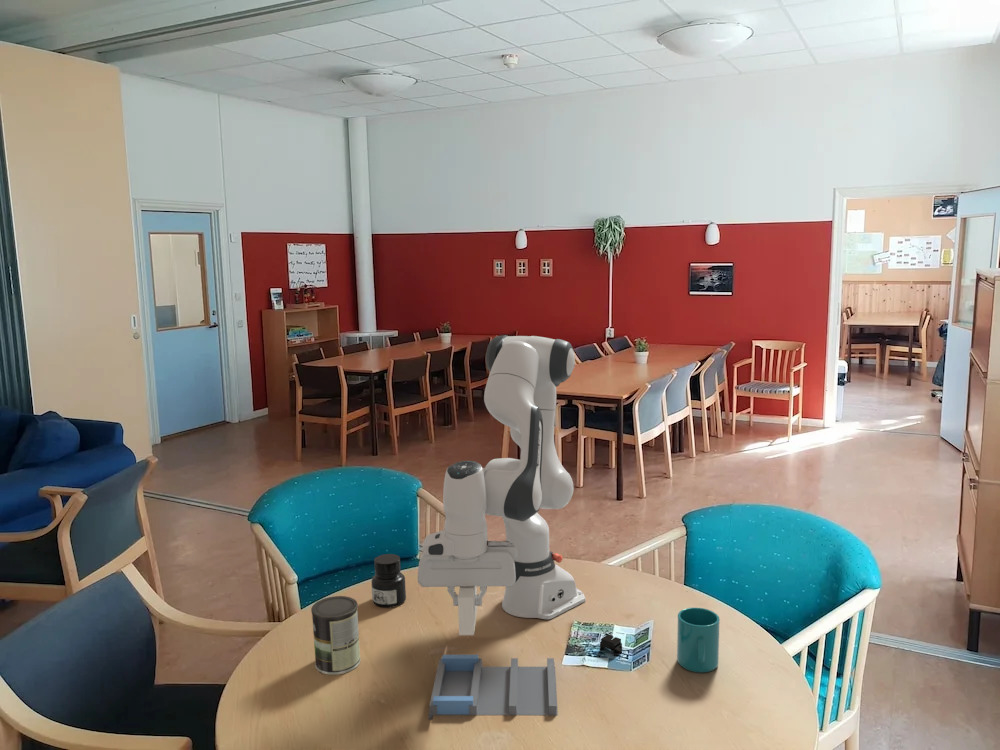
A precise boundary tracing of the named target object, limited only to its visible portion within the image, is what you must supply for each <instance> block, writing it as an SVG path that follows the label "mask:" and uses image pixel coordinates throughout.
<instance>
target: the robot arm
mask: <svg viewBox="0 0 1000 750" xmlns="http://www.w3.org/2000/svg"><path fill="white" fill-rule="evenodd" d="M574 350H575V349H574V347H573V346H572V344H571V343H570V342H569V341H566V340H564V339H560V338H556V339H553V338H550V337H544V336H537V335H531V336H530V335H529V336H528V335H516V336H515V335H513V336H512V335H511V336H510V335H509V336H508V335H507V334H505V335H498V336H495V337H493V338H492V339H491V340H490V341H489V342H488V344H487V348H486V352H485V365H486V369H487V370H488V372H489V375H488V378H487V381H486V384H485V388H484V395H483V402H484V405H485V407H486V409H487V411H488V412H489V414H490V415H491V416H492V418H494V419H495V420H497V421H498V422H500V423H501V424H503V425H504V426H507V427H509V428H510V429H509V430H510V433H509V434H510V437H511V439H512V441H513V442H514V443H515V444H516V445H517V446H519V448H520V456H519V457H520V459H517V458H512V457H502V458H494V459H491V460H490V461H488V463H486V465H485V467H483V466H482V464H480V463H479V462H477V461H473V460H461V461H457V462H455V463H452V464H451V465H449V466H448V467H447V468H446V471H445V474H444V478H443V479H444V480H443V490H442V491H443V493H442V495H443V496H442V497H443V498H442V500H443V501H442V502H443V503H442V505H443V512H444V515H445V522H444V526H443V529H442V530H439V531H436V532H434V533H430V534H428V535H426V536H425V538H424V540H423V542H422V553H421V555H420V559H419V562H418V566H417V567H418V568H417V583H418V585H420V587H422V588H436V587H437V588H438V587H439V588H442V587H445V588H447V592H448V594H449V595H450V597H451V598H452V600H453V602H452V604H453V605H452V606H454V607H458V595H459V594H457V592H456V591H455V588H457V587H459V588H460V587H470V586H477V587H479V591H480V592H479V593H478V594H477V595H475V606H477V607H478V606H479V607H480V606H482V605H483V597H484V596H485V594H486V593H487V590H488V587H505V589H504V593H503V594H504V595H503V599H502V602H501V608H502V609H503V611H505V613H506V614H509V615H511V616H514V617H519V618H526V619H527V618H529V619H532V618H533V619H534V618H535V619H536V618H537V619H541V620H552V619H553V618H555V617H558V616H559V615H561V614H563V613H565V612H567V611H569V610H571V609H572V608H575V607H577V606H579V605H581V604H583V603H585V602H586V596H585V594H584V592H583V591H582V590H580V589H579V588H577V585H576V581H575V579H574V577H573V575H572V574H570V572H568V571H567V570H566V569H563V568H562V567H561V566H559V565H557V564H556V563H555V562H557V563H558V564H559V563H561V562H562V561H563V559H564V558H563V556H562V554H559V553H557V552H556V553H554V552H553V551H551V550H550V527H549V524H548V523H547V521H546V520H545V518H543V516H541V515H540V514H539V511H540V509H543V510H560V509H564V508H565V507H566V506H567V505H568V504H569V503H570V501H571V499H572V498H573V497H572V496H573V494H574V490H575V489H574V482H573V478H572V476H571V474H570V473H569V472H568V471H567V470H566V468H565V467H564V466H563V465H562V463H561V460H560V458H559V456H558V453H557V450H556V449H557V448H556V444H555V422H556V411H557V410H556V409H557V387H559V386H560V384H561V383H564V382H566V381H567V380H568V379H569V378H570V377H571V376H572V373H573V370H574V368H575V365H576V358H575V357H576V355H575V351H574ZM486 515H487V516H495V517H502V519H503V524H504V528H505V539H506V540H502V541H501V540H500V541H499V540H488V523H487V520H486Z"/></svg>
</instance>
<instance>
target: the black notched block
mask: <svg viewBox="0 0 1000 750" xmlns="http://www.w3.org/2000/svg"><path fill="white" fill-rule="evenodd" d="M604 649H608V650H610V651H611V652H613V657H616V656H618V655H620V654H621V653H622V652H623V643H622V638H620V637H616V636H615V637H614V636H613V635H612V634H609V633H608V634H606V635H605V636H603V637H601V639H600V642H599V651H600V652H602V651H603V650H604Z"/></svg>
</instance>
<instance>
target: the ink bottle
mask: <svg viewBox="0 0 1000 750" xmlns="http://www.w3.org/2000/svg"><path fill="white" fill-rule="evenodd" d="M401 568H402V567H401V557H400V556H399V555H398V554H394V553H387V554H380V555H378V556H376V557H375V558H374V573H375V574H374V575H373V576H372V578H371V599H372V603H373V604H374V605H375V606H377V607H379V608H384V609H385V608H386V609H389V608H394V607H397V606H400V605H402V604H404V603H405V602H406V599H407V595H406V594H407V593H406V591H407V590H406V577H405V575H404V574H403V573H402V572H401V570H402V569H401Z"/></svg>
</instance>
